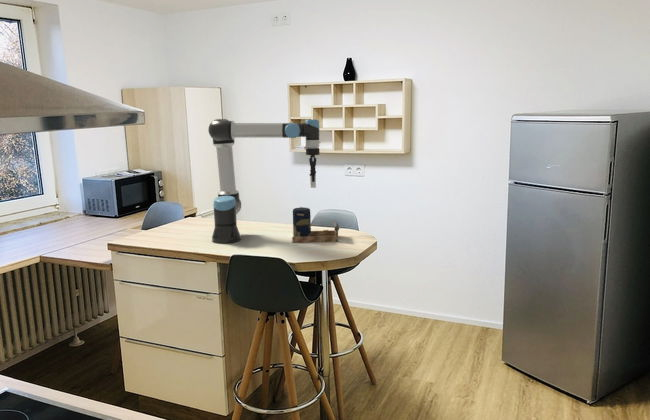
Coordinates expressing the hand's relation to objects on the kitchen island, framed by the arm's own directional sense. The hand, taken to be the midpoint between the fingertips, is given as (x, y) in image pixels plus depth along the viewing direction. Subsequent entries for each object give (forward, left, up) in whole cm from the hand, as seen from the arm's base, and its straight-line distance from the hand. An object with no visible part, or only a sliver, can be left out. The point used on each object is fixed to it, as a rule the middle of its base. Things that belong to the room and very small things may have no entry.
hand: (313, 186), depth 292 cm
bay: (+1, -14, -27) cm, 31 cm away
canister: (-6, -14, -27) cm, 31 cm away
